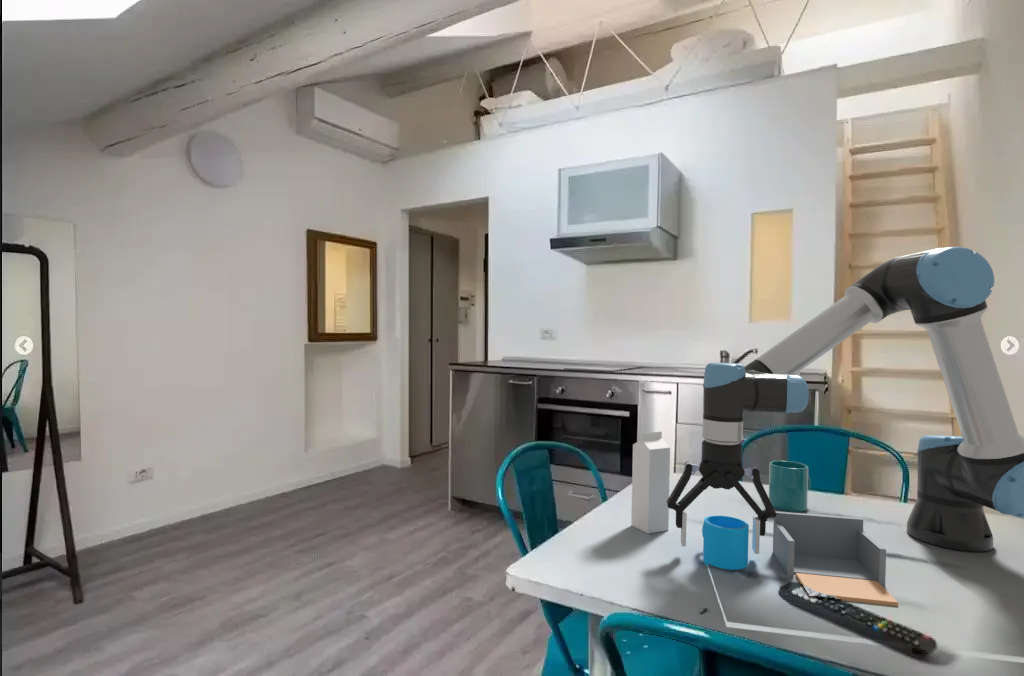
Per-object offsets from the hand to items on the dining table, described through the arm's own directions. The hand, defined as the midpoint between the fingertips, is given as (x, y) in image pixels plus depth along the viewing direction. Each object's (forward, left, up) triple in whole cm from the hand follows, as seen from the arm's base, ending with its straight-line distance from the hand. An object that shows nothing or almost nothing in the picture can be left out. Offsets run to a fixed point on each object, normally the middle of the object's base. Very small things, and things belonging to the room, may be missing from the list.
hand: (718, 547), depth 110 cm
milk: (+13, -15, -3) cm, 20 cm away
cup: (-24, -41, -3) cm, 48 cm away
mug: (0, 0, -3) cm, 3 cm away
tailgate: (-19, +6, -2) cm, 20 cm away
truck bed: (-19, 0, -2) cm, 19 cm away
